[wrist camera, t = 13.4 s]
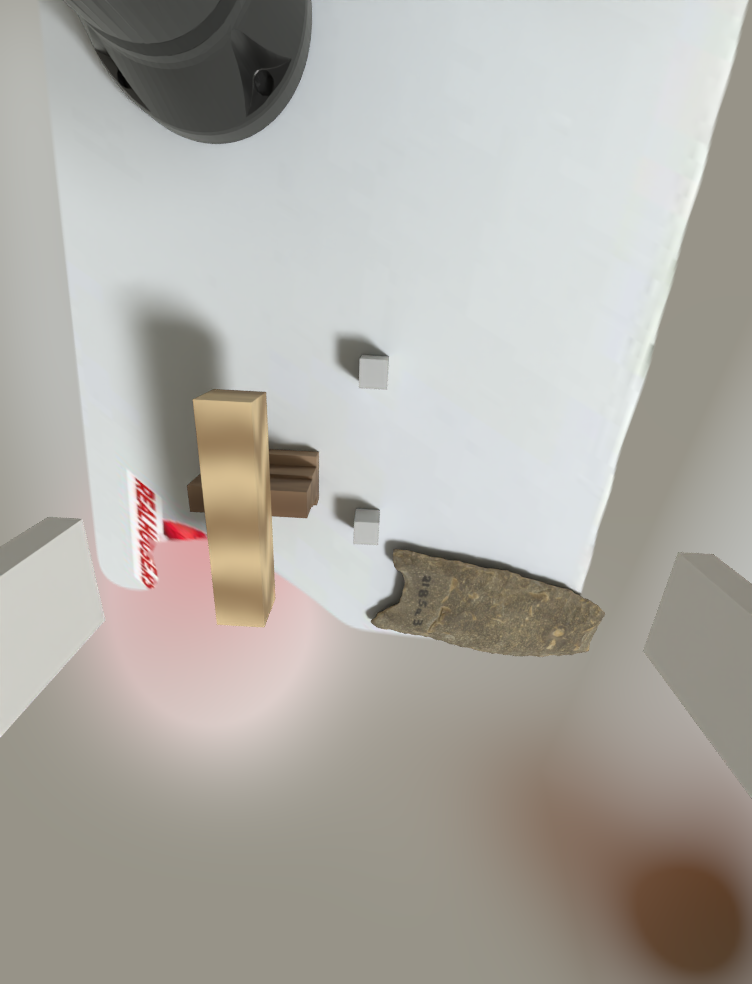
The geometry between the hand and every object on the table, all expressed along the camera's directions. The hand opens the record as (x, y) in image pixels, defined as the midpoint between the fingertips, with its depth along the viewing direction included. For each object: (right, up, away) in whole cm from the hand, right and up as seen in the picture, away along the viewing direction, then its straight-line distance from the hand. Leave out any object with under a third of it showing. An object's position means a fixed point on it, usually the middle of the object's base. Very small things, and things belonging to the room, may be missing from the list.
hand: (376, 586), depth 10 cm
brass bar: (-11, +1, +28) cm, 30 cm away
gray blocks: (0, +6, +33) cm, 33 cm away
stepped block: (-11, +4, +34) cm, 36 cm away
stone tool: (+13, -10, +40) cm, 43 cm away
